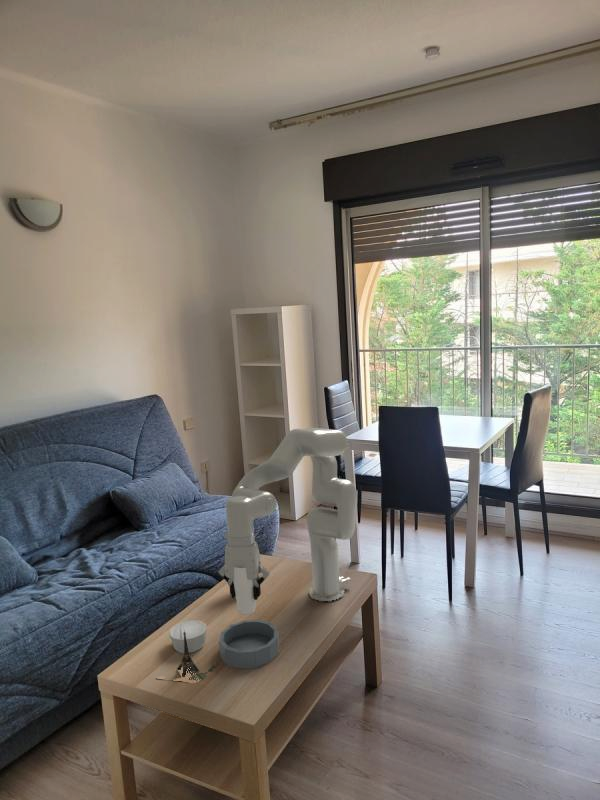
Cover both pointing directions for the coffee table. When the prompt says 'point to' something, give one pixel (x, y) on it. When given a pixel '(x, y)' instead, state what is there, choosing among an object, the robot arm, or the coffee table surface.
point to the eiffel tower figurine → (191, 664)
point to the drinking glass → (243, 591)
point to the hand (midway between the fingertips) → (245, 596)
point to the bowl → (249, 644)
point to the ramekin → (189, 635)
